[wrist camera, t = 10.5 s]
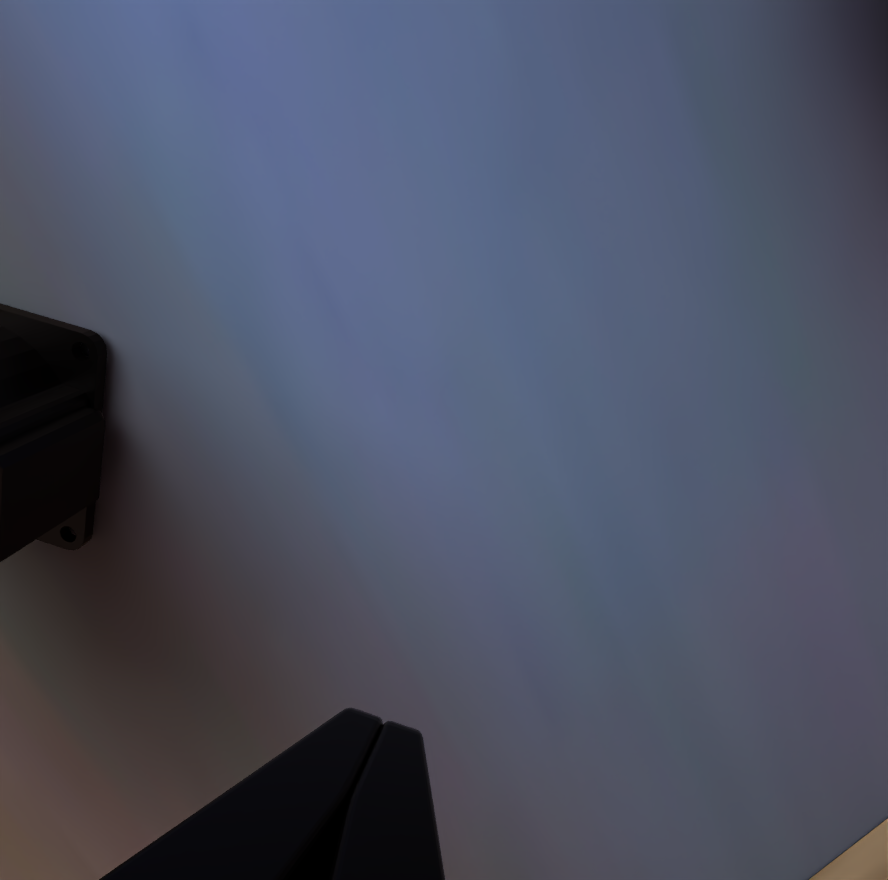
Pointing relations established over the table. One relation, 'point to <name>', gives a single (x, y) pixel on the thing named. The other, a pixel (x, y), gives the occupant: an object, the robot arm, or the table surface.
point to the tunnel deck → (861, 859)
